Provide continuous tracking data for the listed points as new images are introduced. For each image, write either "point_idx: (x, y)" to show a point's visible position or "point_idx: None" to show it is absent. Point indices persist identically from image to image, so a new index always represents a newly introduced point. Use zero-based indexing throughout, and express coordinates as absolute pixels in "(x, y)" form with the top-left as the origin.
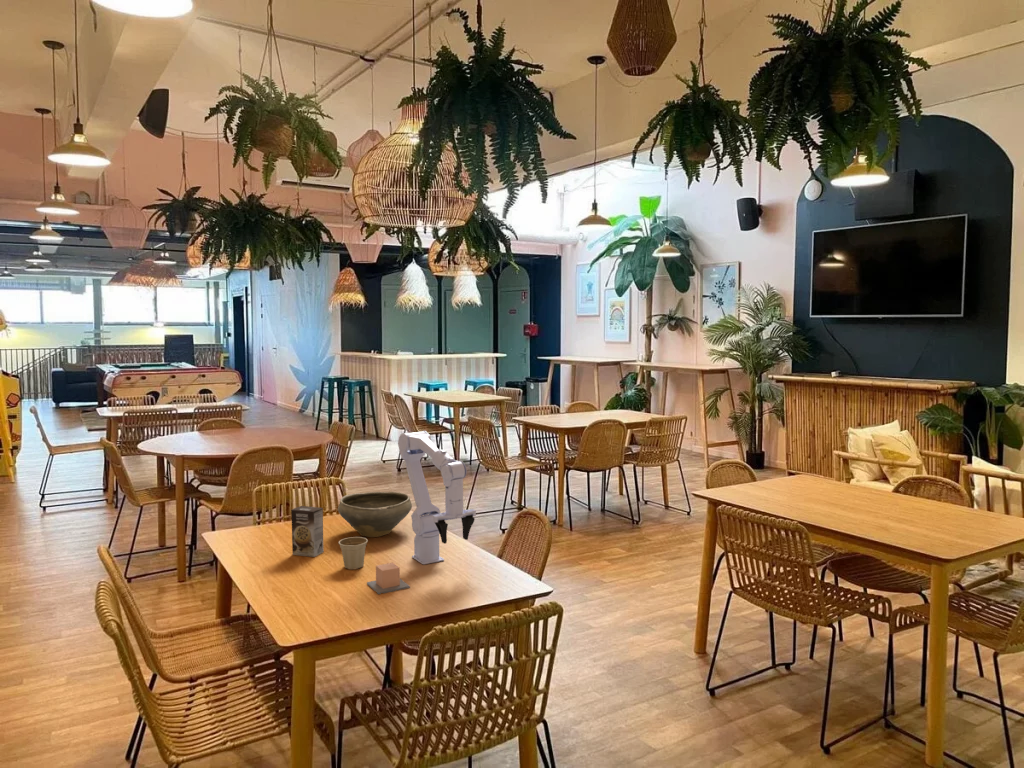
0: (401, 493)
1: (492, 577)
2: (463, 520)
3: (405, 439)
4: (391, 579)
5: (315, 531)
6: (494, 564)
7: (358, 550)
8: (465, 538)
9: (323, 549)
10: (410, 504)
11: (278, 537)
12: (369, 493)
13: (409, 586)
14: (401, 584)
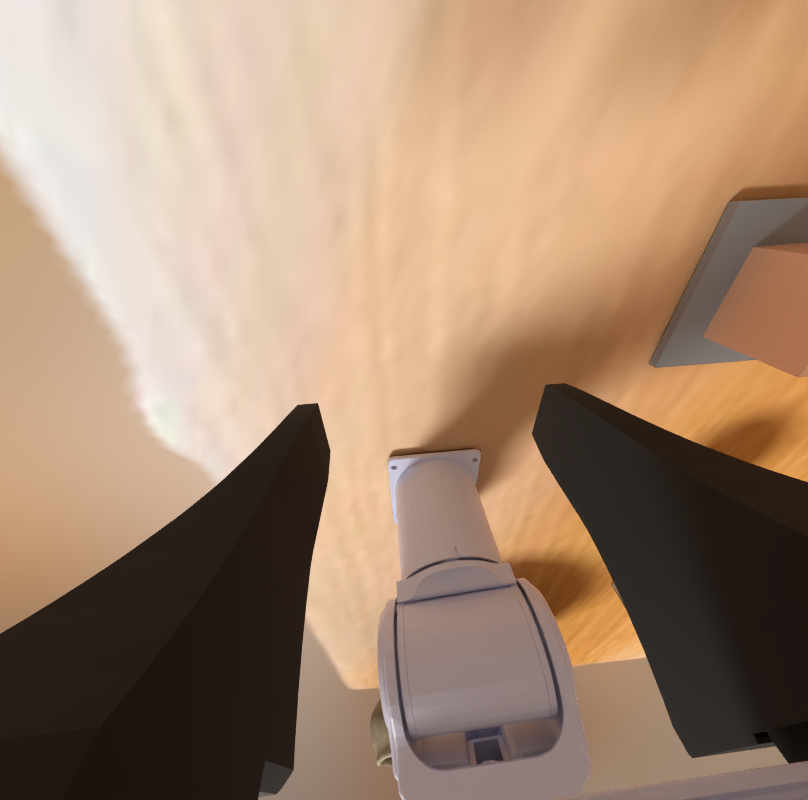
0: (386, 764)
1: (199, 69)
2: (276, 694)
3: None
4: None
5: None
6: (161, 330)
7: None
8: (318, 419)
9: (615, 589)
10: (385, 729)
11: (607, 636)
12: None
13: (738, 201)
14: (740, 252)
